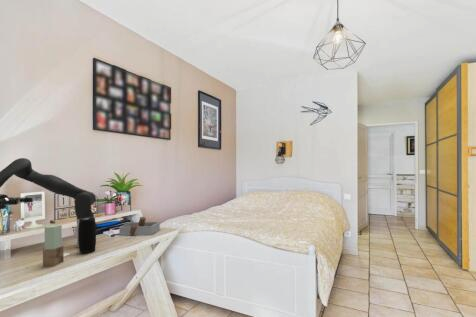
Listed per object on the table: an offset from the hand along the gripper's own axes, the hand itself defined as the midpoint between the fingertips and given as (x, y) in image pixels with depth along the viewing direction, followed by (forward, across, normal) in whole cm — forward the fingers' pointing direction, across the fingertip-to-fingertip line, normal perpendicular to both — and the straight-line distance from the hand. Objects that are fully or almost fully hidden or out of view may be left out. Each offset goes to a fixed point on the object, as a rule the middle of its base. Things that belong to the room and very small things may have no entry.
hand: (24, 201), depth 130 cm
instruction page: (+8, +11, +32) cm, 35 cm away
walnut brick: (+15, 0, +32) cm, 35 cm away
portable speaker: (+21, +18, +32) cm, 42 cm away
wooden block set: (+34, +60, +32) cm, 76 cm away
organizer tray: (+34, +60, +32) cm, 76 cm away
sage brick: (+15, 0, +24) cm, 28 cm away
